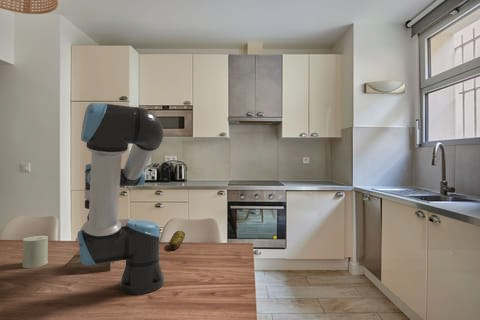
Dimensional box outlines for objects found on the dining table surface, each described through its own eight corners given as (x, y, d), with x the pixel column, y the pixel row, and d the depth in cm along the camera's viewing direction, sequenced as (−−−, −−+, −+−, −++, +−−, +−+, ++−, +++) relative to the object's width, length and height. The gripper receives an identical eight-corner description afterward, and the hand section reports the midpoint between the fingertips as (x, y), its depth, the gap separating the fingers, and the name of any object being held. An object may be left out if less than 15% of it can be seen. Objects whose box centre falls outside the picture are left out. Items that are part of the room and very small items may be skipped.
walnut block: (110, 271, 118) (110, 259, 118) (66, 275, 114) (67, 263, 114) (116, 259, 133) (116, 248, 133) (78, 262, 129) (78, 251, 129)
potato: (162, 249, 148) (162, 233, 148) (177, 243, 160) (178, 229, 160) (174, 251, 144) (174, 235, 144) (189, 245, 156) (190, 230, 156)
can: (34, 269, 119) (35, 240, 119) (16, 267, 121) (17, 239, 121) (53, 261, 128) (53, 235, 128) (36, 260, 130) (36, 233, 130)
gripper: (99, 201, 116) (98, 258, 116) (107, 196, 134) (107, 246, 133) (79, 201, 114) (78, 259, 114) (90, 196, 132) (89, 247, 131)
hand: (93, 252), depth 124 cm, fingers closed on sage block, 5 cm apart
